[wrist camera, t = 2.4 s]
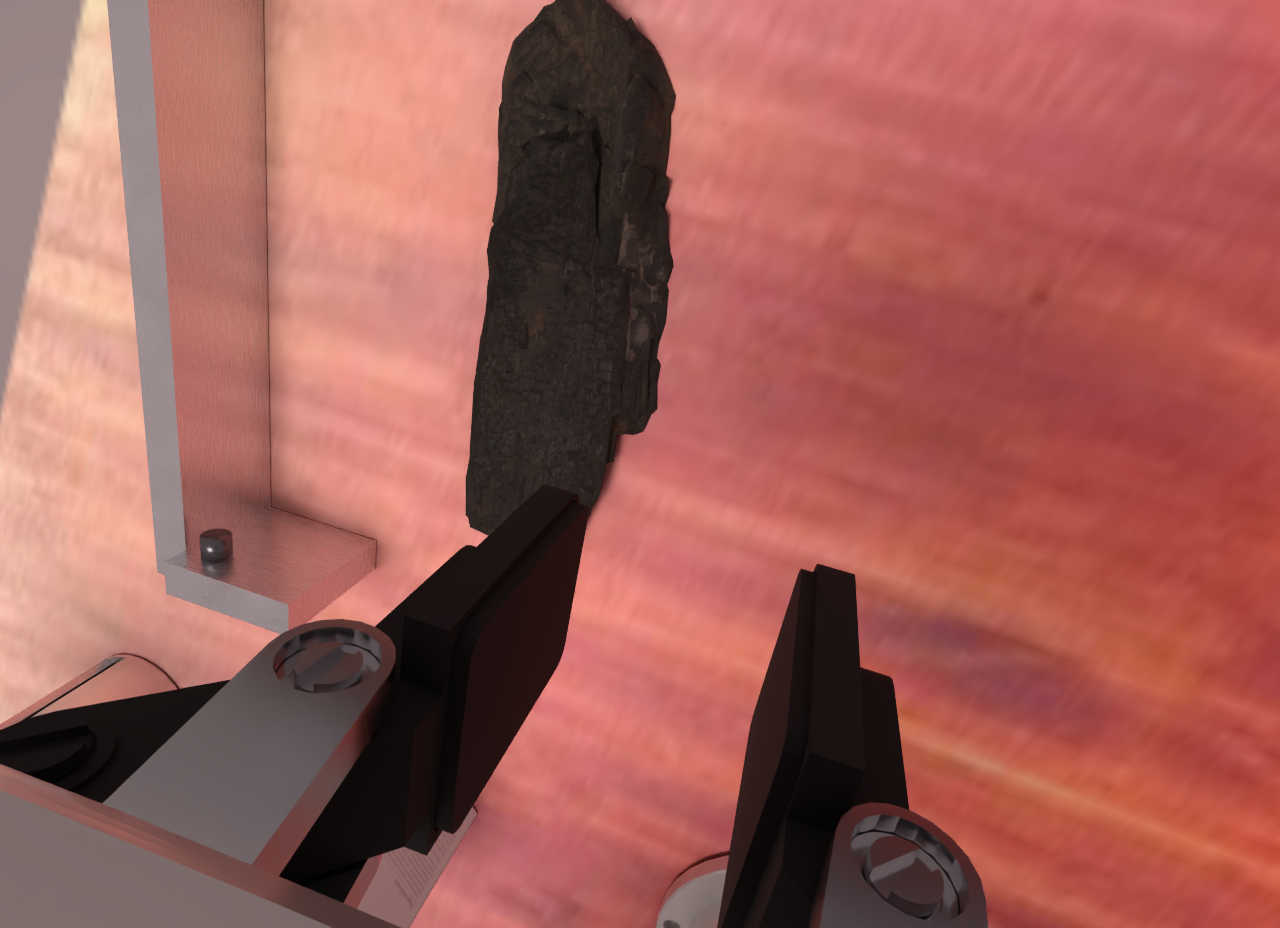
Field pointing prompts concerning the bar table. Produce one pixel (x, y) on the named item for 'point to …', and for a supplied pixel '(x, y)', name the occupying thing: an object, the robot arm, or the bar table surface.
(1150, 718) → the bar table surface
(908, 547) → the bar table surface
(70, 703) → the silver metal cylinder
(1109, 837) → the bar table surface
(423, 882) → the small box
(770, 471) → the bar table surface
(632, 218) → the wood
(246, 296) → the rack
